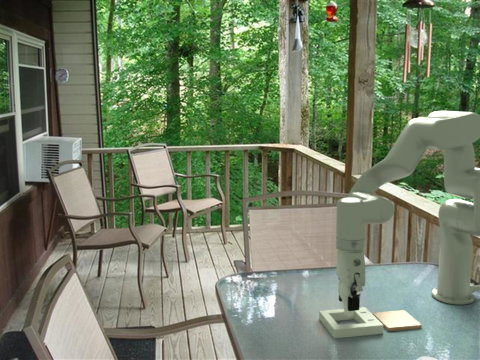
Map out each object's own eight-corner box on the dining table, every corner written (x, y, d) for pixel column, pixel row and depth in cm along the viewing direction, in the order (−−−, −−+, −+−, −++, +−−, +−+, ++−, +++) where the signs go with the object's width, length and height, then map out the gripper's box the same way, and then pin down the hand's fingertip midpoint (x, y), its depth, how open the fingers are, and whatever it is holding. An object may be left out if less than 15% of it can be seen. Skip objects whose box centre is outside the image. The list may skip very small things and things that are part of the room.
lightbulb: (364, 316, 146) (364, 278, 144) (352, 323, 141) (353, 285, 139) (345, 310, 150) (345, 273, 148) (333, 317, 145) (333, 279, 143)
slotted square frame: (364, 315, 153) (364, 306, 153) (382, 333, 141) (383, 324, 141) (319, 319, 150) (319, 310, 150) (334, 338, 139) (334, 329, 138)
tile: (403, 313, 154) (404, 309, 154) (421, 328, 145) (421, 324, 144) (372, 315, 152) (372, 312, 152) (388, 331, 143) (388, 327, 143)
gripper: (376, 251, 134) (374, 317, 137) (350, 233, 151) (349, 292, 154) (349, 254, 133) (348, 320, 136) (326, 235, 149) (325, 294, 153)
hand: (348, 304), depth 145 cm, fingers closed on lightbulb, 5 cm apart
